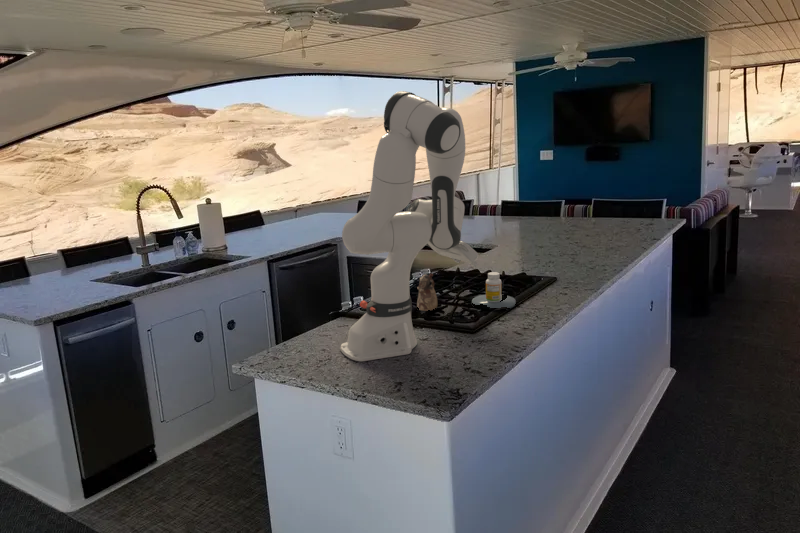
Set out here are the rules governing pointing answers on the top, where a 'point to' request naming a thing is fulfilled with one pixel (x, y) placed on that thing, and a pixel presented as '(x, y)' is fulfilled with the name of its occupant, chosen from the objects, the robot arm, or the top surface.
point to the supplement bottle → (493, 287)
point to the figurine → (426, 293)
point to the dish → (481, 299)
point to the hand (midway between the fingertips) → (467, 263)
